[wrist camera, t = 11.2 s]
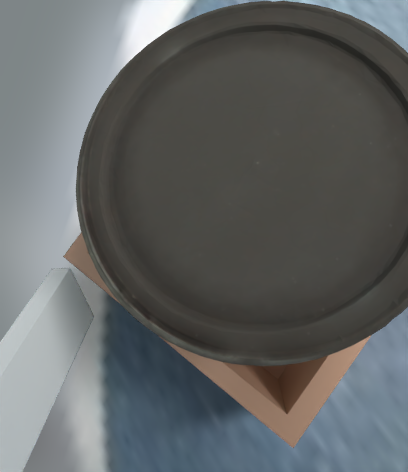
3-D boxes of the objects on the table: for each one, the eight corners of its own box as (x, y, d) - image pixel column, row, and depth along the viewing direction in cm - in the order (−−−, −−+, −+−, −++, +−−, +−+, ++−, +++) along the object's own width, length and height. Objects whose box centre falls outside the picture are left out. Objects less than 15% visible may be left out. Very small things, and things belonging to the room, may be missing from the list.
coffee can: (204, 157, 24) (136, -21, 10) (346, 189, 22) (502, 21, 8) (162, 291, 23) (22, 295, 9) (309, 338, 21) (417, 434, 7)
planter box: (229, 107, 25) (220, 45, 18) (410, 215, 22) (475, 184, 15) (113, 264, 24) (63, 256, 18) (281, 399, 21) (293, 448, 15)
